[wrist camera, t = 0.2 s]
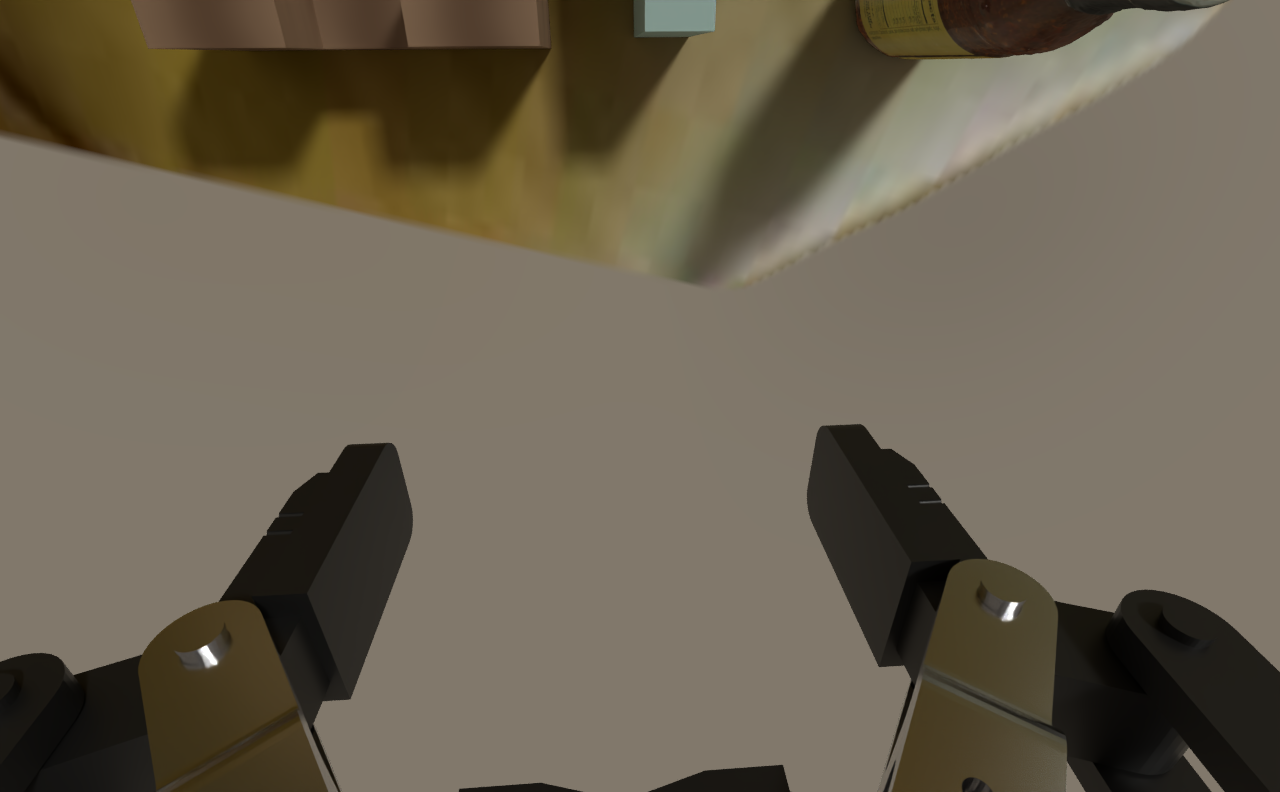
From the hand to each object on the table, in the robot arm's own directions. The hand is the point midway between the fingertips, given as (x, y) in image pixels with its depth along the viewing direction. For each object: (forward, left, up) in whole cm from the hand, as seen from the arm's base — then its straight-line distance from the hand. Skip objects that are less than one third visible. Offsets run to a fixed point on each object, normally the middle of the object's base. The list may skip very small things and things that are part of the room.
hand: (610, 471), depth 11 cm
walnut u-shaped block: (-9, -10, -28) cm, 31 cm away
